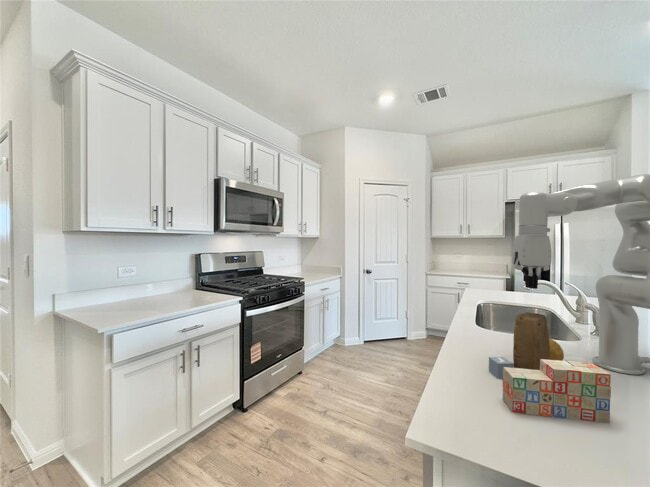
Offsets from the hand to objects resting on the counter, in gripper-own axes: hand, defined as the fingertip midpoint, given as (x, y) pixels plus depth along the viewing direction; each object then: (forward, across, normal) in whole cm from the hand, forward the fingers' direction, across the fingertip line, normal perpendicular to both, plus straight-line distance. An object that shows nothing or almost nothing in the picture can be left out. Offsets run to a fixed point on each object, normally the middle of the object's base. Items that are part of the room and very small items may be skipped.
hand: (531, 287), depth 93 cm
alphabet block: (+29, +9, 0) cm, 30 cm away
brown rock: (+29, -1, 0) cm, 29 cm away
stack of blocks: (+29, +7, +19) cm, 36 cm away
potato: (+29, -12, -11) cm, 33 cm away
